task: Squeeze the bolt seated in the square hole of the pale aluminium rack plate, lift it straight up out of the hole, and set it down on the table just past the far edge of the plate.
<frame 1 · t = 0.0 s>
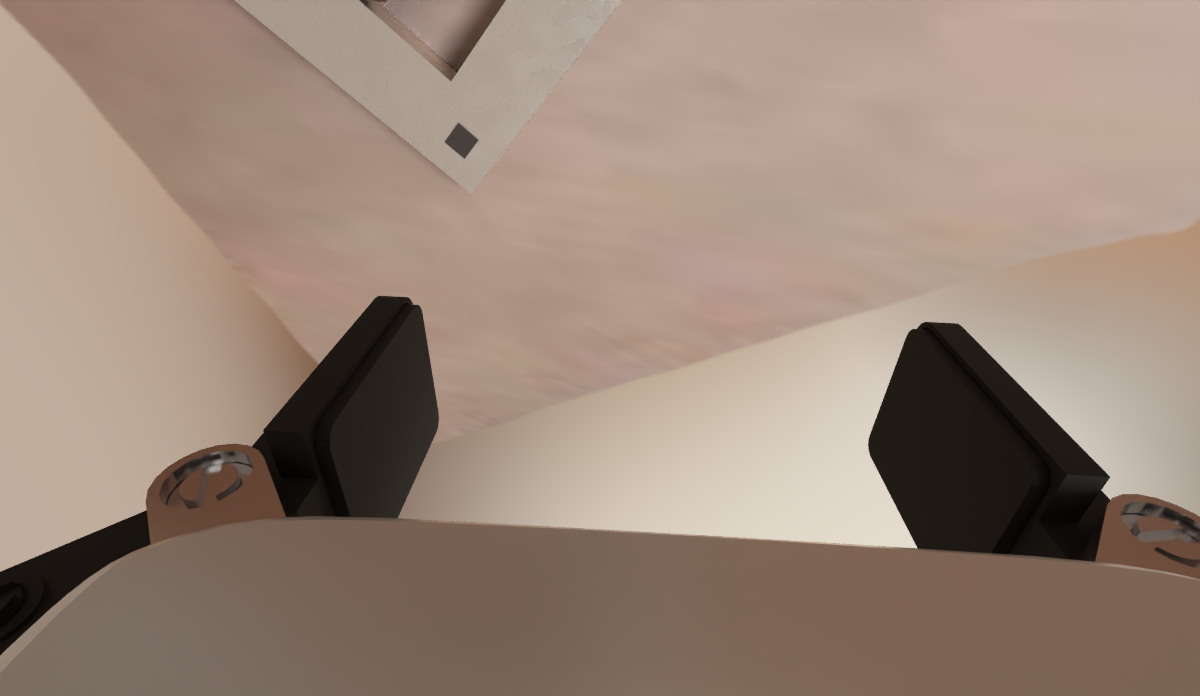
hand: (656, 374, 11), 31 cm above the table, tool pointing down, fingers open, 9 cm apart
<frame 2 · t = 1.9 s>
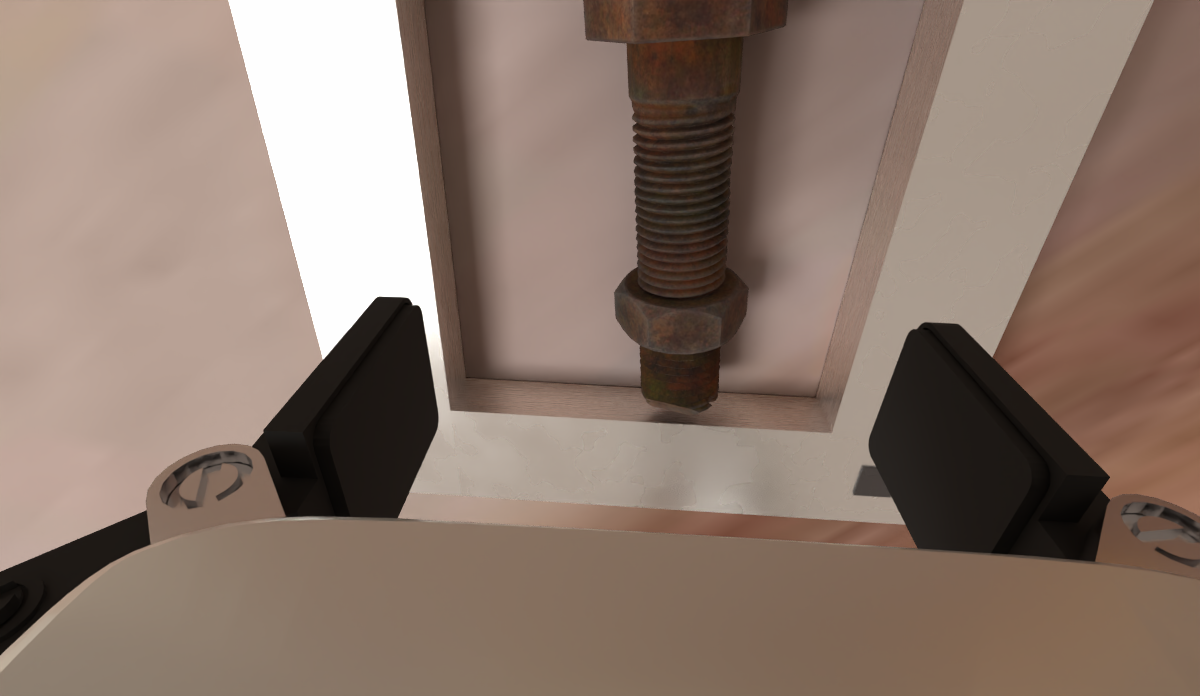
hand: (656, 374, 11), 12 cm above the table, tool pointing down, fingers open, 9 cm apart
bolt: (674, 206, 22), on the table
rack plate: (651, 216, 22), on the table
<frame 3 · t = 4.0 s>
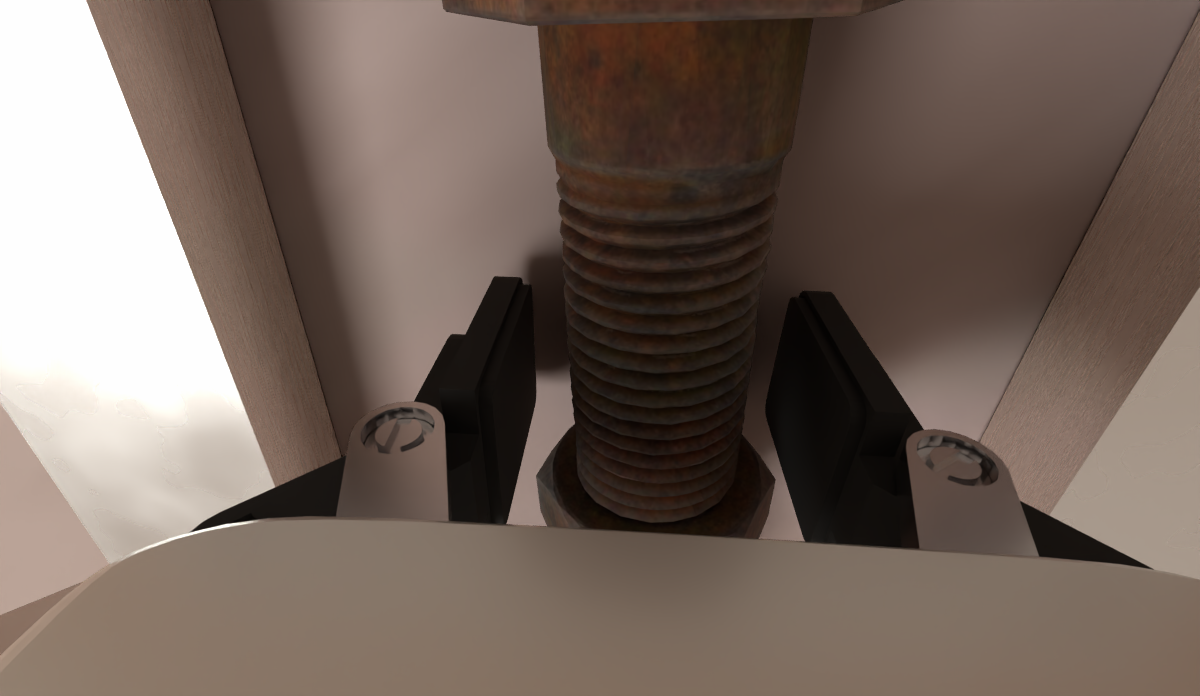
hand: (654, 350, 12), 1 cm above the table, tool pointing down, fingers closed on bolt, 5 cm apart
bolt: (648, 317, 12), on the table, touching gripper
rack plate: (655, 336, 12), on the table
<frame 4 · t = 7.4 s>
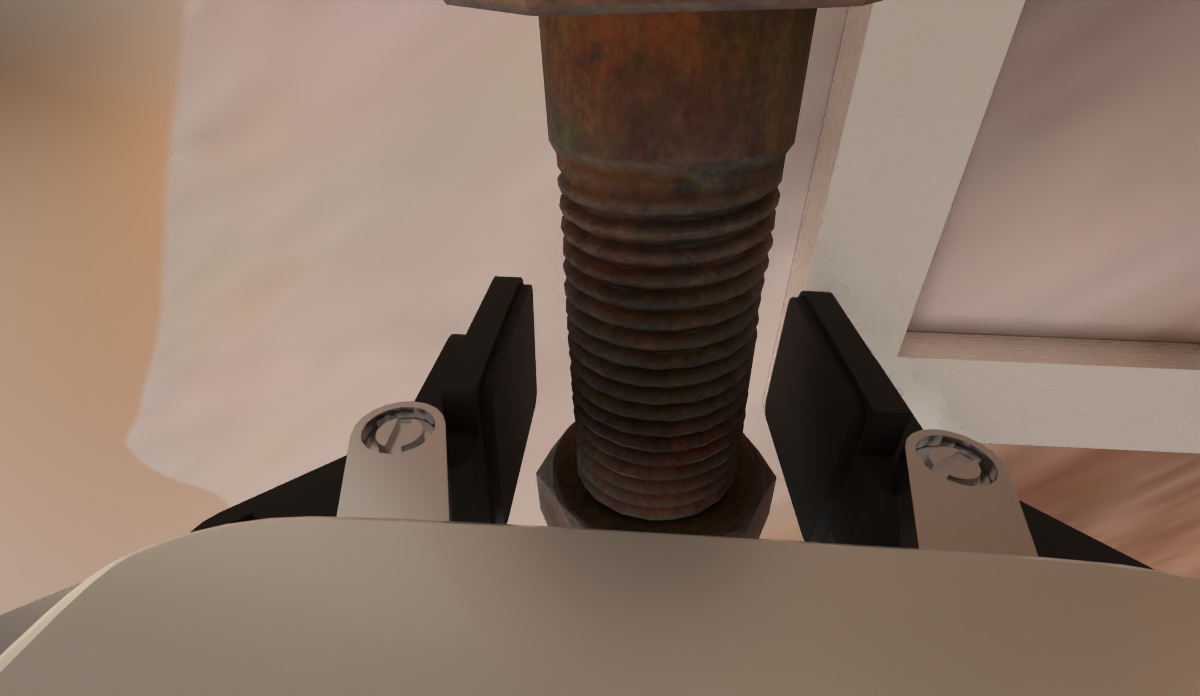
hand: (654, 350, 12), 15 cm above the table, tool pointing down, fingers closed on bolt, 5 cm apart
bolt: (648, 314, 12), point 15 cm above the table, touching gripper
rack plate: (1118, 177, 24), on the table
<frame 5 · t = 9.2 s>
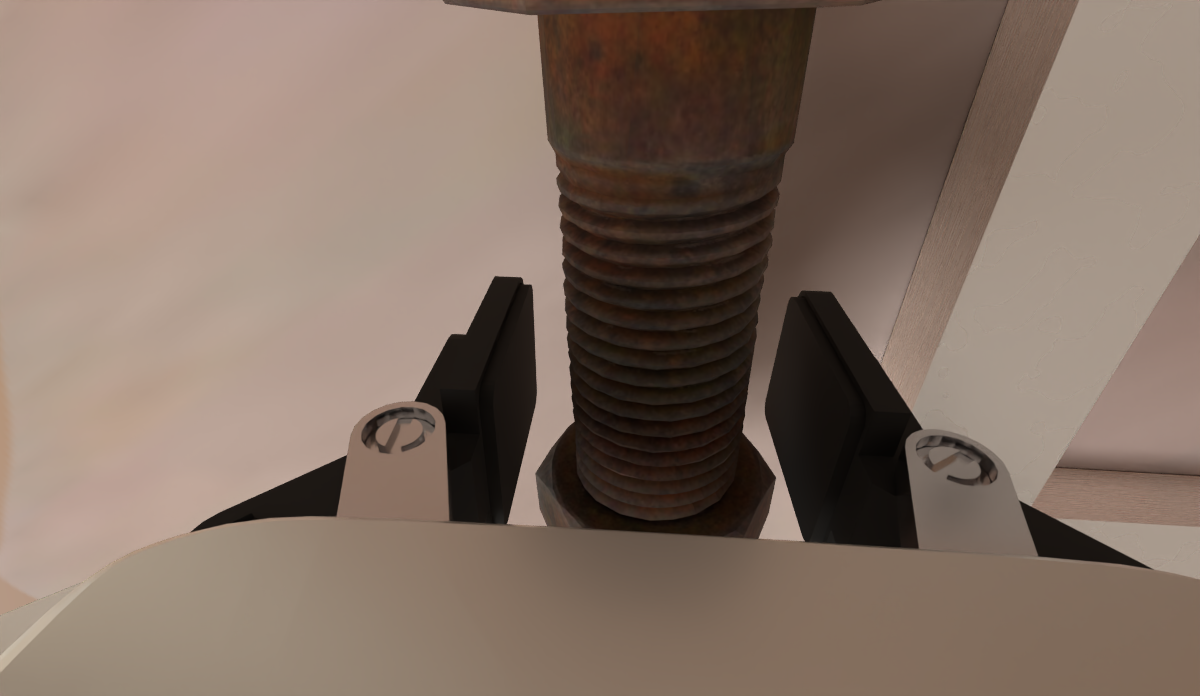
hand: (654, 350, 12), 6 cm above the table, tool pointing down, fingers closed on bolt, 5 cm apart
bolt: (648, 314, 12), point 5 cm above the table, touching gripper
when the fingers open (1 cm above the table, at t = 10.9 s): bolt moves 1 cm, on the table.
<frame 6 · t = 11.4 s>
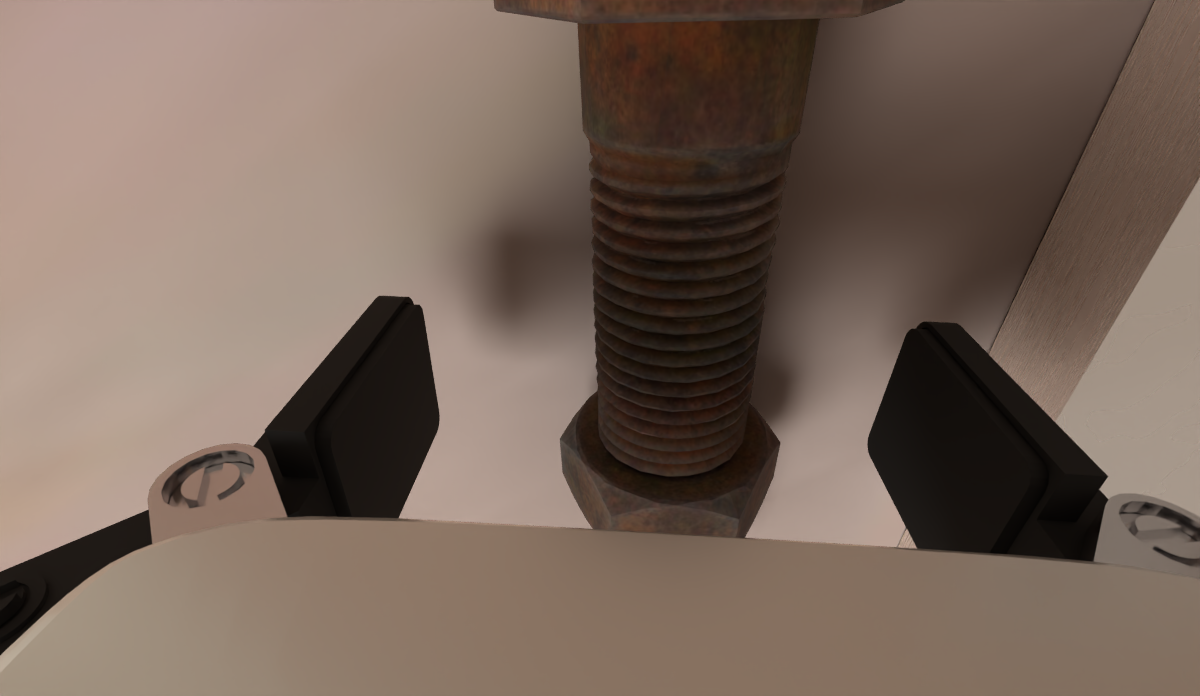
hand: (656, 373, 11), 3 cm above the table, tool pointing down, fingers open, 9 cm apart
bolt: (663, 294, 14), on the table
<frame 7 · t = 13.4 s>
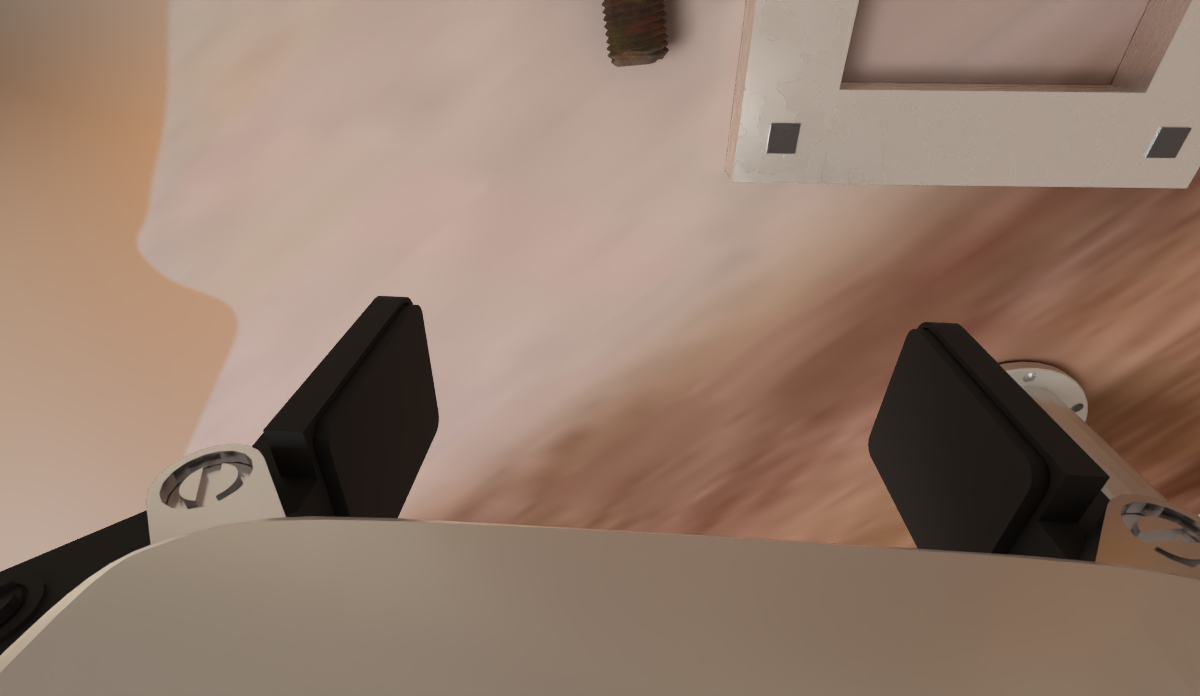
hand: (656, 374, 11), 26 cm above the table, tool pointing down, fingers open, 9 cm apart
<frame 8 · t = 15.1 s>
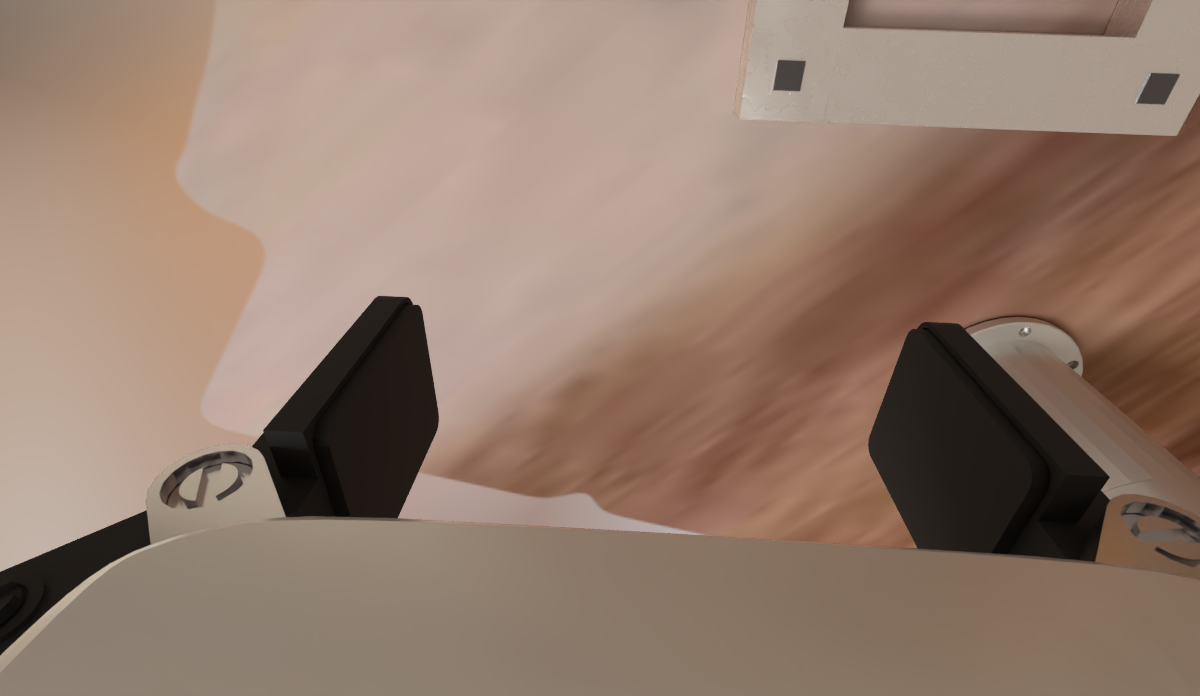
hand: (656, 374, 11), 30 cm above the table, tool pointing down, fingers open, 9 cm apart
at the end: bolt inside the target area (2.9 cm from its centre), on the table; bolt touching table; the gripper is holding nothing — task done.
